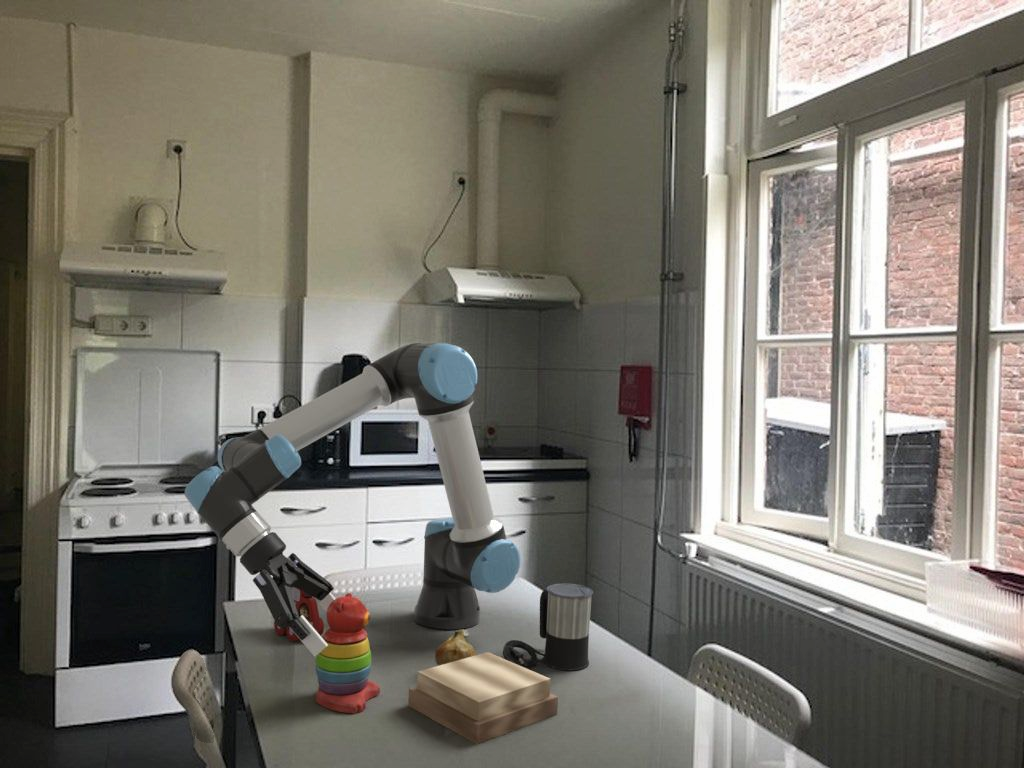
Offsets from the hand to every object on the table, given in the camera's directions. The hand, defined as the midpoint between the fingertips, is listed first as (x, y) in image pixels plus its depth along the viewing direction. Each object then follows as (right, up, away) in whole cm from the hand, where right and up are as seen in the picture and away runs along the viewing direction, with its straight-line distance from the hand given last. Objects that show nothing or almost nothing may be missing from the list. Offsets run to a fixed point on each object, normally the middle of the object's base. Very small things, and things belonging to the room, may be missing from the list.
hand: (335, 637), depth 143 cm
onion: (+19, -11, +15) cm, 27 cm away
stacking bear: (+1, -11, +1) cm, 11 cm away
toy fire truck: (-15, -10, +32) cm, 37 cm away
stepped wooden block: (+25, -12, -1) cm, 28 cm away
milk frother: (+37, -12, +22) cm, 45 cm away
